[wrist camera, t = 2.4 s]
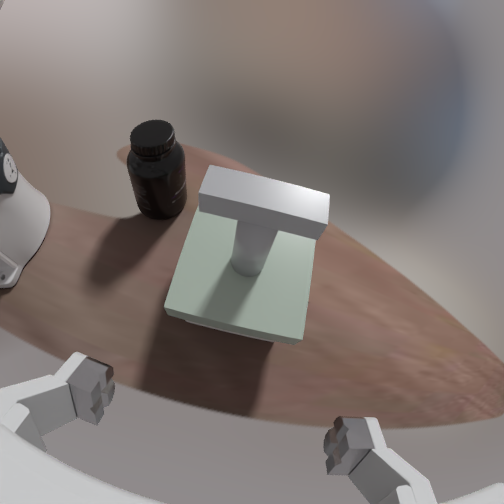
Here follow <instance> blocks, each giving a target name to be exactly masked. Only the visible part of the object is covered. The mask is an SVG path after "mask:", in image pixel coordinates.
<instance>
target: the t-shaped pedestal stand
mask: <svg viewBox="0 0 504 504" xmlns="http://www.w3.org/2000/svg"><path fill="white" fill-rule="evenodd" d="M329 198H330V195H329V194H326V193H322V192H319V191H315V190H312V189H308V188H304V187H301V186H297V185H293V184H289V183H285V182H282V181H278V180H274V179H270V178H266V177H262V176H258V175H253V174H249V173H245V172H241V171H236V170H232V169H227V168H223V167H218V166H213V165H209V168H208V170H207V173H206V175H205V178H204V180H203V183H202V185H201V188H200V190H199V205H198V208H197V210H196V213H195V216H194V218H193V221H192V224H191V227H190V229H189V232H188V235H187V238H186V241H185V244H184V246H183V249H182V252H181V255H180V258H179V261H178V264H177V267H176V270H175V273H174V276H173V279H172V282H171V285H170V289H169V292H168V295H167V298H166V301H165V304H164V308H165V310H166V312H167V314H168V315H170V316H173V317H177V318H180V319H184V320H188V321H192V322H195V323H199V324H203V325H207V326H211V327H215V328H219V329H223V330H227V331H231V332H236V333H240V334H244V335H249V336H253V337H258V338H262V339H267V340H272V341H277V342H282V343H287V344H292V345H295V344H296V343H298V342H300V341H301V340H302V339H303V333H304V326H305V320H306V313H307V306H308V299H309V291H310V283H311V275H312V267H313V259H314V250H315V240H318V239H319V237H320V236H321V234H322V233H323V231H324V230H325V228H326V226H327V225H328V214H329Z"/></svg>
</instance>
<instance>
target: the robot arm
mask: <svg viewBox="0 0 504 504" xmlns="http://www.w3.org/2000/svg"><path fill="white" fill-rule="evenodd" d="M4 1H5V0H0V9H1V7H2V5H3V3H4ZM49 221H50V206H49V203H48V200H47V198H46V197H45V196H44V195H43V194H42V193H41V192H39V191H38V190H36V189H35V188H34V187H33V186H31V185H30V184H29V183H28V182H27V181H26V180H25V178H24V177H23V176H22V175H21V174H20V173H19V172H18V169H17V167H16V164H15V162H14V160H13V158H12V156H11V155H10V153H9V151H8V149H7V148H6V146H5V144H4V143H3V141H2V139H1V138H0V288H9V287H13V286H14V285H15V284H16V282H17V280H18V278H19V276H20V274H21V271H22V269H23V267H24V266H25V264H26V263H27V262H28V261H29V260H30V258H31V257H32V256H33V255H34V254H35V252H36V251H37V250H38V248H39V246H40V245H41V243H42V241H43V239H44V237H45V235H46V232H47V229H48V226H49ZM4 277H5V278H4ZM113 375H114V371H113V367H112V366H110V365H107V364H105V363H103V362H100V361H98V360H96V359H93V358H91V357H89V356H86V355H84V354H81V353H79V352H75V353H73V354H72V355H71V356H70V358H69V359H68V360H67V361H66V362H65V363H64V364H63V365H62V367H61V368H60V369H59V370H58V371H57V372H56V374H55V375H54V376H52V375H47V376H44V377H40V378H37V379H33V380H30V381H26V382H23V383H19V384H15V385H12V386H8V387H4V388H0V504H168V503H164V502H161V501H157V500H154V499H151V498H147V497H144V496H141V495H138V494H135V493H132V492H129V491H127V490H124V489H121V488H119V487H116V486H114V485H111V484H109V483H106V482H104V481H101V480H99V479H97V478H94V477H92V476H90V475H88V474H86V473H84V472H82V471H80V470H77V469H75V468H73V467H71V466H69V465H68V464H66V463H64V462H62V461H60V460H58V459H56V458H54V457H53V456H51V455H49V454H47V453H46V451H47V449H46V446H45V444H44V442H43V440H42V438H41V436H43V435H45V434H47V433H49V432H51V431H53V430H55V429H57V428H59V427H61V426H63V425H65V424H67V423H69V422H71V421H73V420H75V419H77V417H78V418H80V419H82V420H85V421H87V422H89V423H92V424H94V425H98V423H99V422H100V420H101V418H102V416H103V415H104V409H103V408H104V407H106V406H109V404H110V402H111V401H112V398H113V395H114V390H115V383H114V381H113V380H112V379H111V378H112V376H113ZM333 423H334V427H333V428H331V429H329V430H328V432H327V434H326V435H325V439H324V452H325V453H326V454H327V456H328V459H327V460H326V467H327V474H328V475H348V477H349V478H350V480H351V481H352V482H353V483H354V485H355V486H356V487H357V488H358V490H359V491H360V492H361V493H362V494H363V496H364V497H365V498H366V499H367V500H368V502H369V503H370V504H437V502H436V499H435V496H434V493H433V491H432V487H431V485H430V482H429V480H428V479H427V478H425V477H424V476H423V475H422V474H420V473H419V472H418V471H417V470H416V469H414V468H413V467H412V466H411V465H409V464H408V463H407V462H406V461H405V460H403V459H402V458H401V457H400V456H399V455H398V454H396V453H395V452H394V451H393V450H392V449H387V446H386V443H385V440H384V437H383V435H382V432H381V429H380V426H379V423H378V420H377V419H376V418H371V417H347V416H339V417H337V418H336V419H335V421H334V422H333ZM440 504H504V484H503V483H496V484H493V485H490V486H488V487H486V488H483V489H481V490H478V491H476V492H473V493H470V494H467V495H465V496H462V497H459V498H456V499H453V500H450V501H446V502H443V503H440Z"/></svg>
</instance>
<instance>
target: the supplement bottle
mask: <svg viewBox="0 0 504 504" xmlns="http://www.w3.org/2000/svg"><path fill="white" fill-rule="evenodd" d="M130 141H131V150H130V152H129V154H128V156H127V168H128V172H129V176H130V180H131V184H132V187H133V191H134V194H135V198H136V201H137V204H138V207H139V209H140V211H141V212H142V213H143V214H144V215H145V216H147V217H149V218H152V219H157V220H162V219H168V218H171V217H173V216H175V215H176V214H178V213H179V212H180V211H181V210H182V209H183V207H184V205H185V203H186V199H187V189H186V172H185V155H184V150H183V148H182V146H181V145H180V144H179V143H178V142H177V141H176V140H175V134H174V129H173V127H172V125H171V124H170V123H168V122H166V121H162V120H149V121H146V122H144V123H141V124H140V125H138V126H137V127H135V128H134V129H133V131H132V132H131V135H130Z"/></svg>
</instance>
